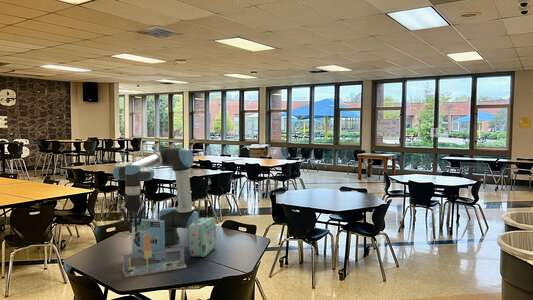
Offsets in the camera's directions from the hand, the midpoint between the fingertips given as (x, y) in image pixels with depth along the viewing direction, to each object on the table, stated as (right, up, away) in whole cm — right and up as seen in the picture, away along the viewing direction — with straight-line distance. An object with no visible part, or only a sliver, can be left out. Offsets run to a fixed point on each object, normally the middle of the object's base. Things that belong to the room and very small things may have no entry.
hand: (133, 238), depth 212 cm
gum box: (+1, -17, +25) cm, 31 cm away
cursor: (+6, -17, +4) cm, 18 cm away
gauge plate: (+10, -18, +6) cm, 21 cm away
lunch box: (+31, -17, +36) cm, 51 cm away
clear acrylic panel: (+10, -17, +6) cm, 20 cm away
